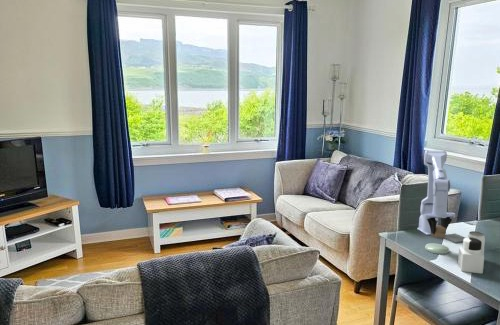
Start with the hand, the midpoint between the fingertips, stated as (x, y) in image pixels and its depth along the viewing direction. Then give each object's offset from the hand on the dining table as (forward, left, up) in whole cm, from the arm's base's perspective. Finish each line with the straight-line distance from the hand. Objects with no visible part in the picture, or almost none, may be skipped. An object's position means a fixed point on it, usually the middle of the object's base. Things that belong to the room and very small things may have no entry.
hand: (438, 232), depth 173 cm
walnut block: (0, 0, -2) cm, 2 cm away
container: (+20, +2, -9) cm, 22 cm away
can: (+12, +10, -9) cm, 18 cm away
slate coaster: (-11, +17, -8) cm, 22 cm away
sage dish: (0, 0, -8) cm, 8 cm away
